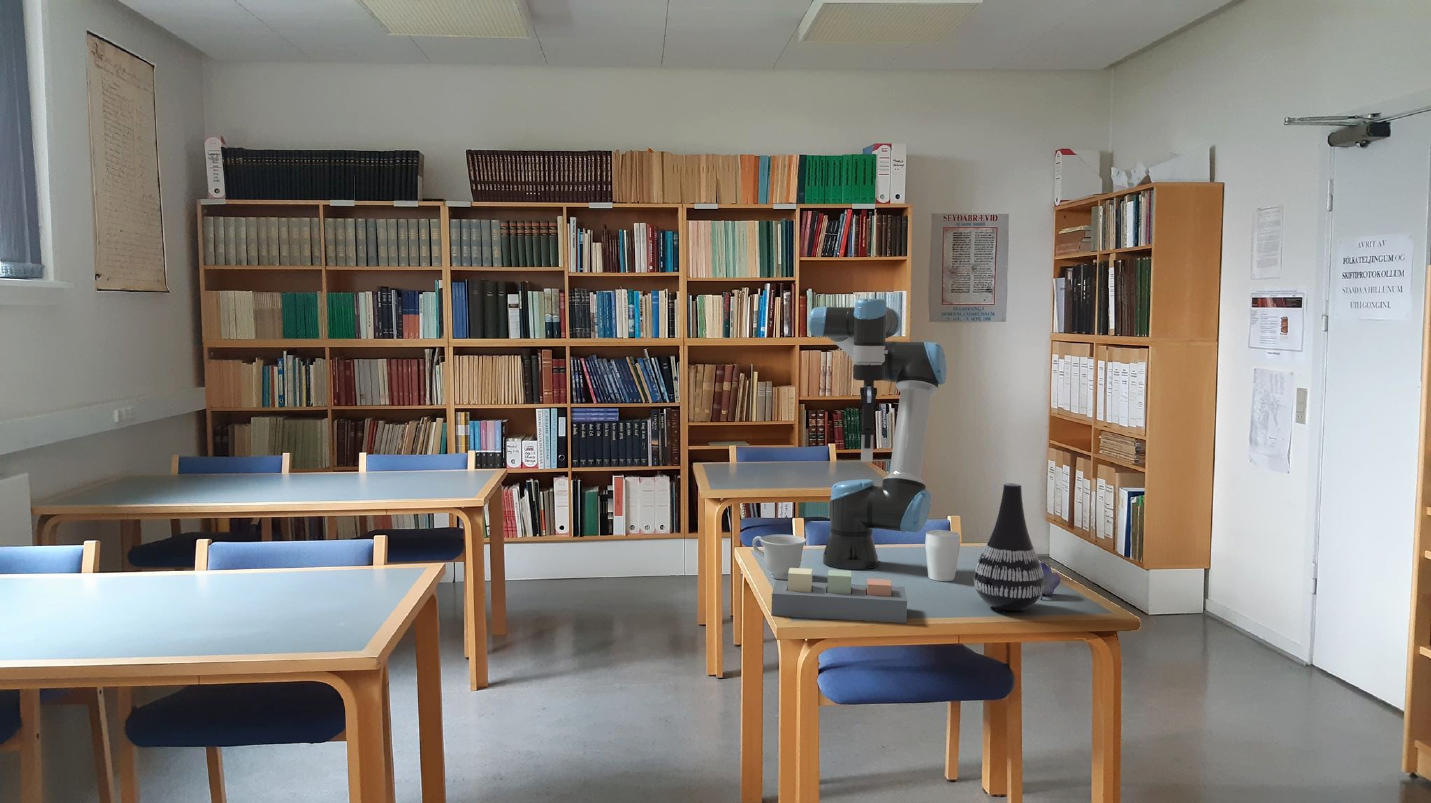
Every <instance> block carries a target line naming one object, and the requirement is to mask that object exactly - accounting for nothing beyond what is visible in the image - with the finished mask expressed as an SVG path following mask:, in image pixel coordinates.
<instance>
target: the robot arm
mask: <svg viewBox="0 0 1431 803" xmlns="http://www.w3.org/2000/svg"><path fill="white" fill-rule="evenodd" d="M901 325H902V321H901V316H900V315H899V313H898V312H897V311H896V310H895V309H893V308H890V307H888V306H887V301H886V300H885V298H884V299H883V298H857V299H856V300H855V303H854V307H853V306H851V307H850V306H849V307H848V306H847V307H846V306H845V307H844V306H827V305H826V306H819V307H818V306H817V307H816V306H815V307H814V308H812V309H811V310H810V313H809V316H808V329H809V332H810V334H811V335H812V336H813V337H819V338H824V337H825V338H826V337H827V338H828V339H829V340H830V341H831V342H833V343H834V344H835V345H836V346H837V347H838V348H840V350H842V351H843V352H844V353H845V354H847V355H848V357H850V359H851V360H850V361H851V362H852V363H853V365H852V378H853V380H855V381H863V387H862V386H860V388H859V394H860V405H861V407H862V411H861V412H862V414H861V427H860V428H861V431H859V434H858V435H860V436H861V444H860V445H861V446H860V447H861V448H860V449H861V453H860V462H862V463H873V460H874V459H873V456H874V454H873V452H874V435H876V434H877V432H876V430H875V428H874V419H875V418H874V416H875V407H876V406H877V405H876V403H877V400H876V399H877V396H878V388H877V387H875V382H874V381H876V382H877V381H879V382H880V381H883V382H888V383H890V382H891V383H895V388H896V389H897V390H898V391H899V393H900V394H899V400H898V406H897V407H898V408H897V416H896V423H895V430H894V438H893V444H892V452H891V459H890V466H889V467H890V468H889V473H888V475H886V476H884V477H883V478H882V484H881V486H877V485H875V483H874V480H872V479H867V478H866V479H863V478H862V479H850V480H843V481H838V482H835V483H834V484H833V485H832V486H831V491H830V492H831V494H830V499H829V500H830V517H829V518H830V521H829V522H830V525H829V528H830V529H829V536H828V539H827V542H826V545H825V549H824V551H823V554H822V563H823V564H824V565H826V566H827V567H828V566H829V567H831V568H837V569H842V570H843V569H845V570H869V569H873V568H876V567H877V566H878V565H879V555H878V553H877V550H876V549H877V548H876V546H875V542H874V539H873V538H874V537H873V529H875V530H884V531H891V532H892V531H893V532H901V533H918V532H921V531H922V529H924V527H925V526H926V523H927V521H928V517H929V515H930V511H931V510H930V509H931V505H932V504H931V500H932V496H931V493H930V491H929V490H928V489H927V488H926V486H927V485H926V483H925V482H924V480H923V479H922V472H923V466H924V457H925V449H926V440H927V432H928V425H929V419H930V418H929V417H930V409H931V402H932V396H933V395H935V394H937V392H938V391H939V385H940V386H942V385H944V384H945V383H946V380H947V361H946V356H945V352H944V349H943V346H942V345H941V344H940V343H938V342H933V341H932V342H931V341H896V340H895V341H894V340H893V341H891V340H886V339H889V338H891V337H893V336H894V335H896V334H897V333H898V331H900V328H901Z"/></svg>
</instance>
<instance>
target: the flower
mask: <svg viewBox="0 0 1431 803" xmlns="http://www.w3.org/2000/svg"><path fill="white" fill-rule="evenodd" d="M1039 562H1040V564H1041V567H1042V570H1043V574H1044V590H1043V592H1042V595H1041V596H1040V598H1039V600H1041V601H1042V600H1043V595H1045V596H1051V595H1052V594H1054V593H1055V589H1056V588H1057V587H1058V586H1059V585H1060V582H1061V577H1060V576H1061V575H1059V573H1058V572H1053V571H1052V565H1051V564H1046V563H1045V562H1043V561H1041V560H1039Z"/></svg>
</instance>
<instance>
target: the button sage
mask: <svg viewBox="0 0 1431 803" xmlns="http://www.w3.org/2000/svg"><path fill="white" fill-rule="evenodd" d="M827 583H828V587H827V593H835V594H851V584H852V571H851V570H843V569H842V570H841V569H840V570H839V569H828V572H827Z"/></svg>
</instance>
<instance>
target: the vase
mask: <svg viewBox="0 0 1431 803" xmlns="http://www.w3.org/2000/svg"><path fill="white" fill-rule="evenodd" d="M1001 495H1002V496H1001V501H1000V504H999V509H998V510H999V511H998V514H997V517H996V521H995V524H994V527H993V530H992V532H991V535H990V536H989V539H988V541H987V543H986V544H985V547H984V549H983V551H982V552H981V554H980V556H979V558H978V560H977V563H976V565H975V568H974V571H973V585H974V589H975V591H976V592H977V594H978V596H979V597H980V599H981V600H983V602H985V603H986V604H987V605H989V606H990V607H992V608H993V610H995V611H998V612H1002V613H1010V614H1011V613H1014V614H1015V613H1020V612H1023V610H1026V609H1028V608H1030V607H1032V606H1033V605H1034V604H1035V603H1037V602H1038V601H1039V600H1040V596H1041V595H1042V596H1043V593H1042V592H1043V590H1044V574H1043V570H1042V567H1041V564H1040V560H1039V558H1038V555H1037V553H1036V550H1035V548H1034V545H1033V543H1032V540H1031V537H1030V535H1029V531H1028V527H1027V522H1026V517H1025V511H1024V504H1023V494H1022V485H1021V484H1019V483H1009V482H1008V483H1004V484H1003V489H1002V494H1001Z"/></svg>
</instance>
